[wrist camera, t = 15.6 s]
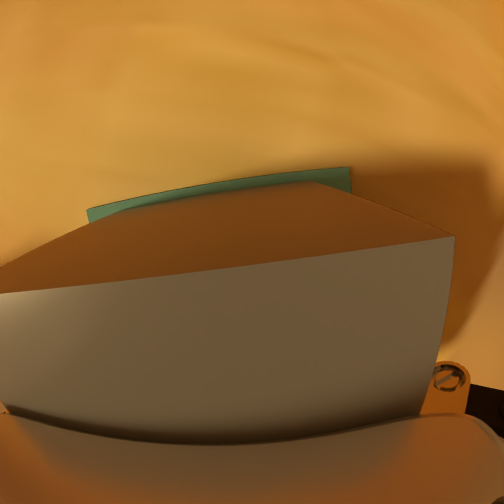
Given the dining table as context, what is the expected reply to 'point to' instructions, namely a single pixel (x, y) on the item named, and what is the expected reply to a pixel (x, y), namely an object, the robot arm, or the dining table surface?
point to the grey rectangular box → (228, 318)
